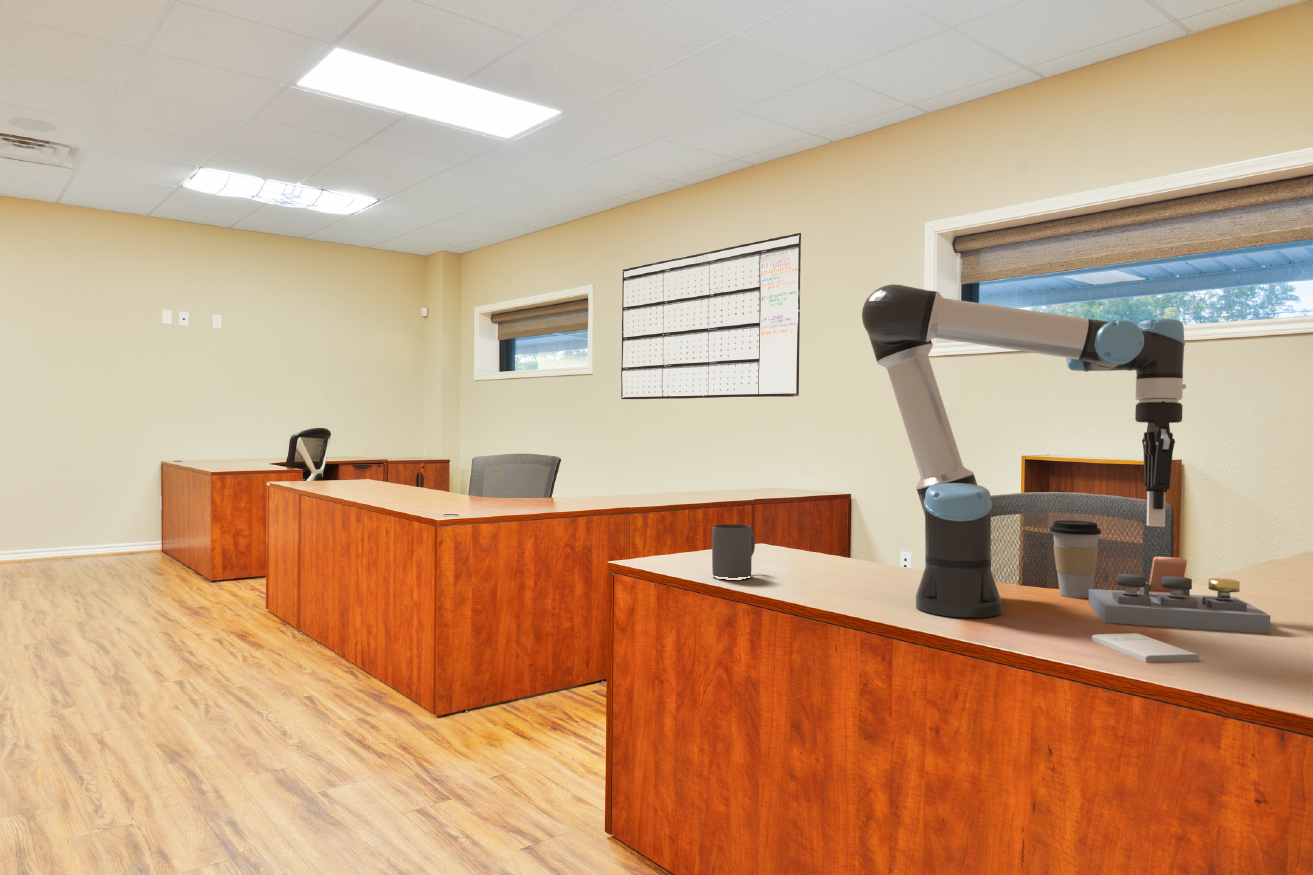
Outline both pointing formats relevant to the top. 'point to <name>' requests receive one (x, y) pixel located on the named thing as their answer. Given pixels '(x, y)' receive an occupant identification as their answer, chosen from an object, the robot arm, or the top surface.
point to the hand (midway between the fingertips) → (1155, 525)
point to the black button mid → (1176, 584)
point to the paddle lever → (1165, 571)
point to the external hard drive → (1144, 648)
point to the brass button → (1223, 586)
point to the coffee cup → (1075, 556)
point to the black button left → (1131, 582)
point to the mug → (732, 550)
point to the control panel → (1178, 610)
